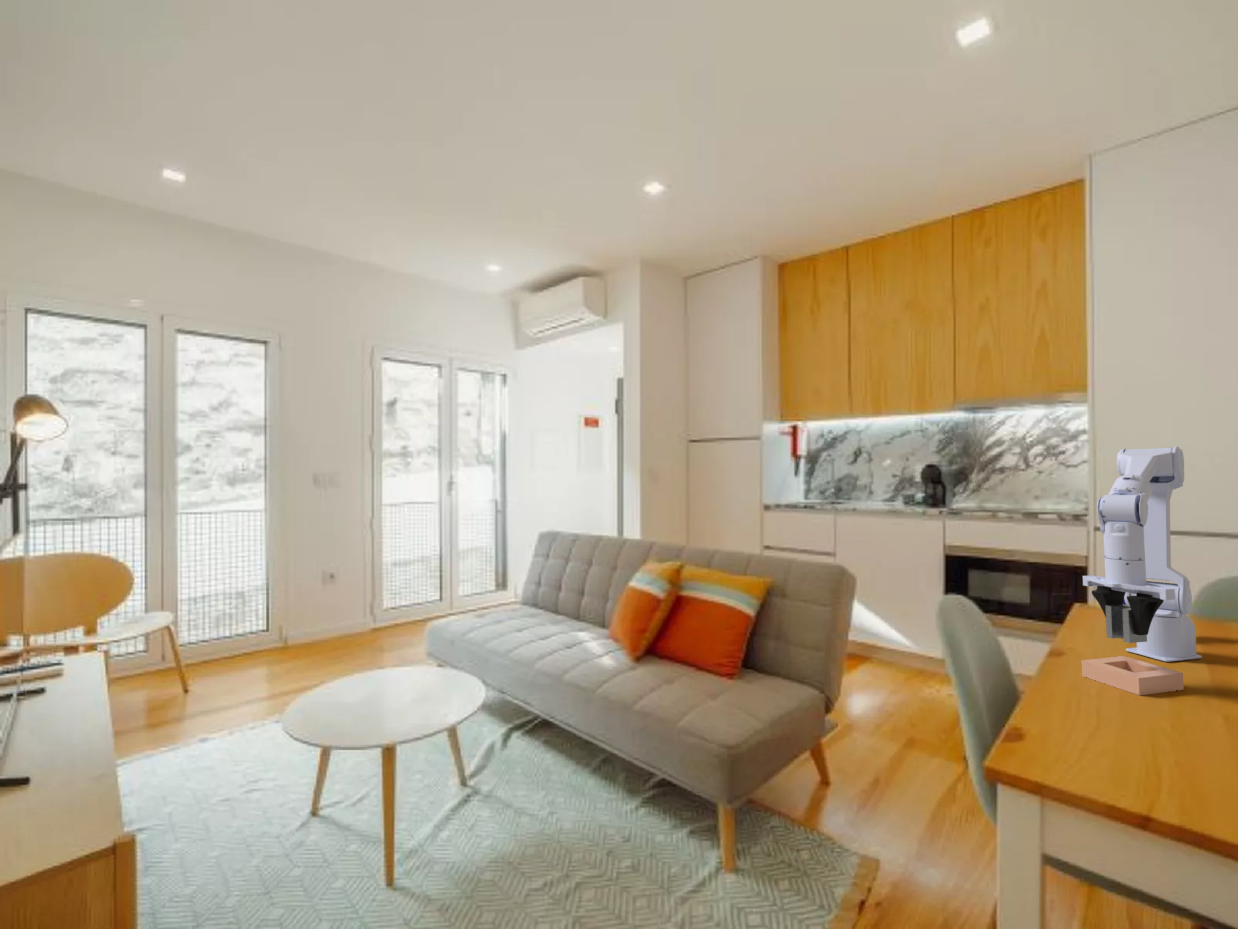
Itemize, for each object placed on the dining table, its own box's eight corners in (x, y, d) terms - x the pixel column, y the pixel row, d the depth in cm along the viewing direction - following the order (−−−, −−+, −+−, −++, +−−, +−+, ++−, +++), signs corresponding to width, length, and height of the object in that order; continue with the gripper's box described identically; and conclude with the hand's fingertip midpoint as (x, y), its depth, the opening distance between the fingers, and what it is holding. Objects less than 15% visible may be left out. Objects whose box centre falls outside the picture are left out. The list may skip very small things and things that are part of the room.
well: (1123, 671, 110) (1123, 655, 110) (1183, 689, 101) (1183, 672, 101) (1082, 676, 108) (1081, 660, 108) (1139, 695, 99) (1138, 678, 99)
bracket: (1123, 635, 107) (1122, 604, 107) (1147, 641, 103) (1145, 608, 103) (1106, 637, 106) (1105, 605, 107) (1129, 643, 102) (1128, 610, 103)
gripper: (1069, 554, 112) (1072, 623, 111) (1150, 565, 97) (1154, 643, 97) (1097, 552, 113) (1101, 620, 113) (1182, 562, 99) (1186, 640, 98)
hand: (1127, 631), depth 105 cm, fingers closed on bracket, 4 cm apart
